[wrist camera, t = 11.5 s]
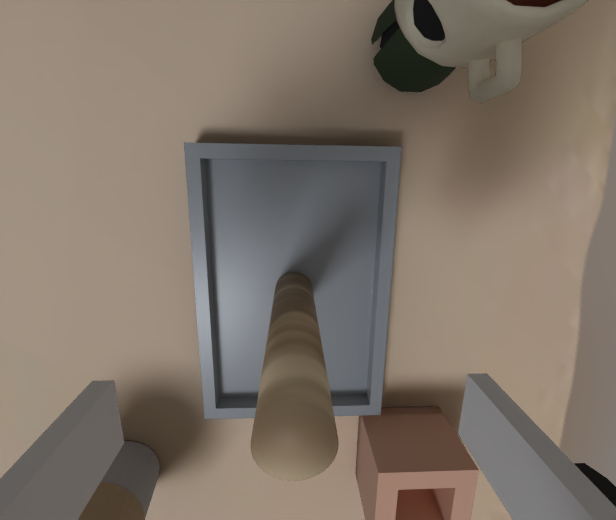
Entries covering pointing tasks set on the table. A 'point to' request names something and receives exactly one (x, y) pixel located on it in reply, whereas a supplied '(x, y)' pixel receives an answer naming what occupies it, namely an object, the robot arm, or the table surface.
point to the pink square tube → (413, 467)
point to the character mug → (461, 41)
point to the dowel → (294, 389)
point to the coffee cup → (125, 486)
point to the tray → (291, 262)
